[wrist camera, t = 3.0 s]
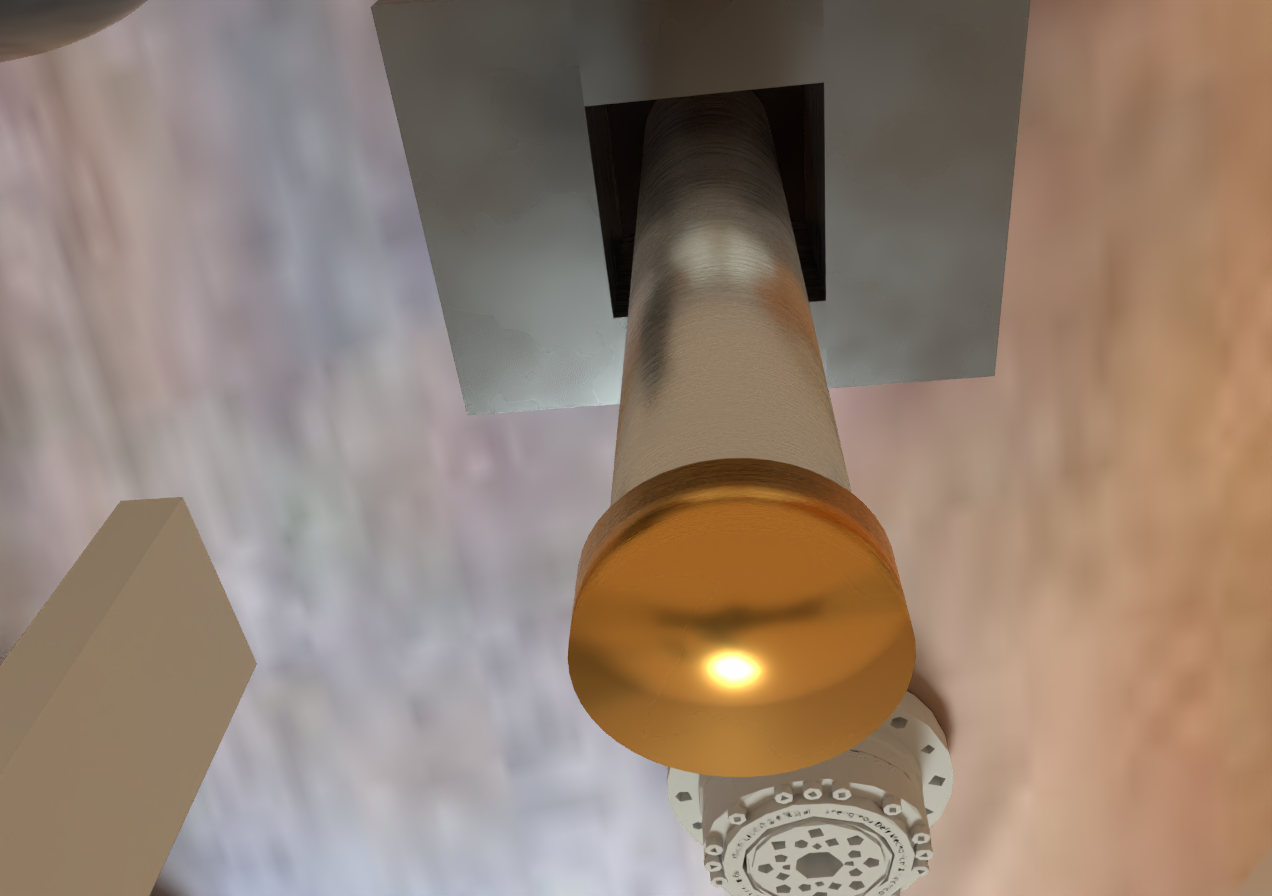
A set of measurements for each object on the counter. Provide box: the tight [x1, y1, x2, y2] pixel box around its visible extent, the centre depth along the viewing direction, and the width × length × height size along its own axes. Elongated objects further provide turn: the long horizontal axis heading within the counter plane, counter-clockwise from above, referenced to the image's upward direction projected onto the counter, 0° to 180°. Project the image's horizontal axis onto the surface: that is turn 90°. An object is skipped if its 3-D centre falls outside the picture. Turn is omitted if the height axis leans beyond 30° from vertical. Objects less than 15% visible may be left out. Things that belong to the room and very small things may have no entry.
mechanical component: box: [667, 691, 954, 896], centre depth 36 cm, size 10×4×10 cm
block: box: [371, 0, 1030, 415], centre depth 23 cm, size 12×9×4 cm
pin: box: [568, 90, 916, 777], centre depth 18 cm, size 4×4×17 cm
